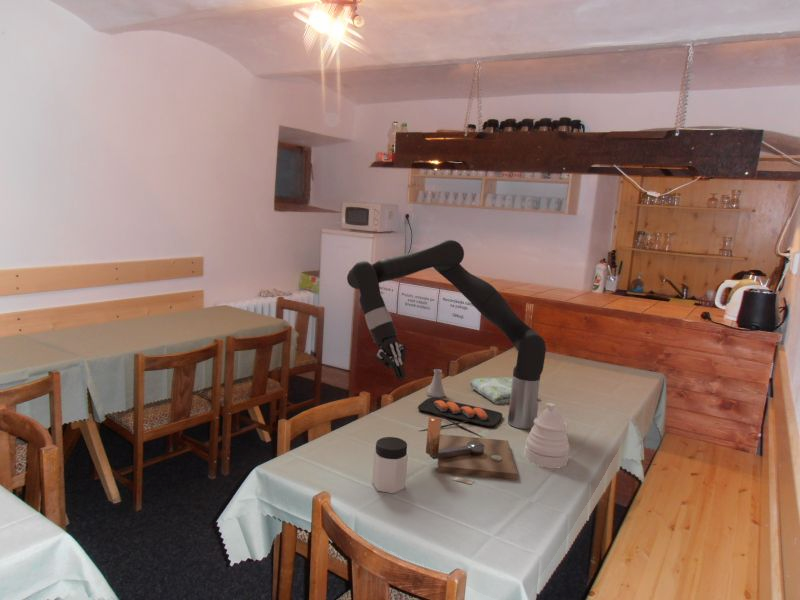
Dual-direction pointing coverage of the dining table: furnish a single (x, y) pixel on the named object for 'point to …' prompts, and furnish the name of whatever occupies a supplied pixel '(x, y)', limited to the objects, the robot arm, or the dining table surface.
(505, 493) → the dining table surface
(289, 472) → the dining table surface
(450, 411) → the sushi plate
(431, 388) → the flask
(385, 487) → the jar
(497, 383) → the towel
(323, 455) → the dining table surface
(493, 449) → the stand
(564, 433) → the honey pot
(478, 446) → the lever
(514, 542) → the dining table surface
